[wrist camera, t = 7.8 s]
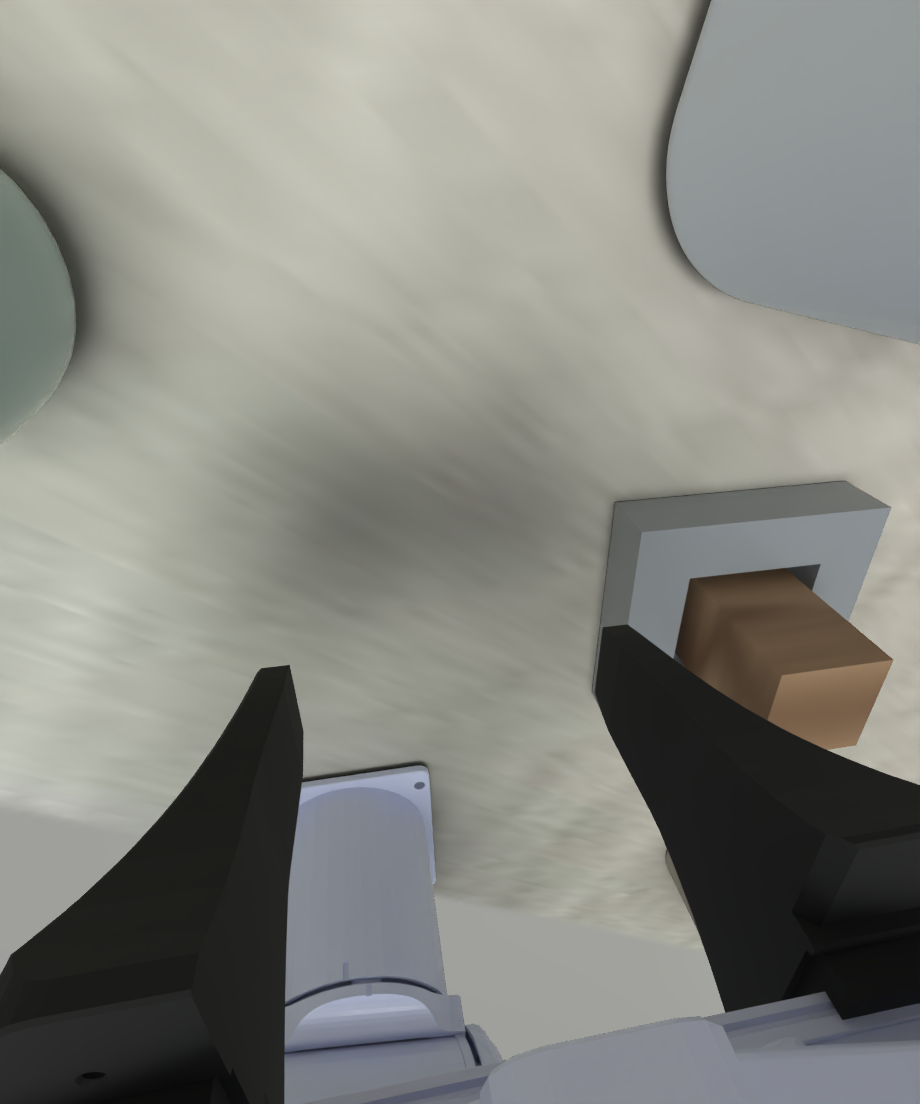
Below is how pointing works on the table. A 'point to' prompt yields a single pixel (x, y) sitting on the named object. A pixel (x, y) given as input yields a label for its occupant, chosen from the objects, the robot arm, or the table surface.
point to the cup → (30, 310)
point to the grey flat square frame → (735, 549)
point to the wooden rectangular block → (782, 654)
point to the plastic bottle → (804, 159)
